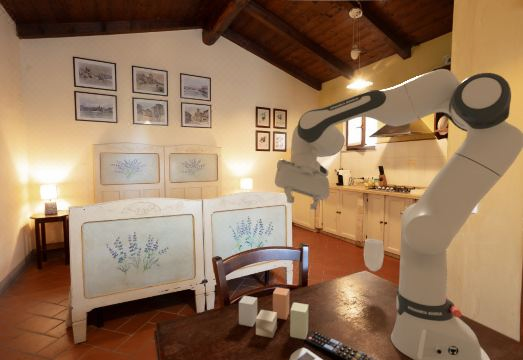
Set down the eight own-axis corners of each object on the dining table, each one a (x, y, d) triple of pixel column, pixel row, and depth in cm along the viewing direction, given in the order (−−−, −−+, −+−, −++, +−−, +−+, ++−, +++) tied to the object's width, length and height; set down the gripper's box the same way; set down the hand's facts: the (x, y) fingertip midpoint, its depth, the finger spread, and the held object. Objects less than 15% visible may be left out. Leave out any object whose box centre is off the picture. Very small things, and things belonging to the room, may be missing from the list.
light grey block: (257, 318, 88) (257, 297, 87) (252, 326, 83) (252, 304, 83) (244, 316, 89) (244, 295, 89) (238, 324, 85) (238, 302, 84)
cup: (384, 293, 105) (386, 240, 104) (379, 300, 100) (381, 244, 98) (365, 287, 110) (367, 237, 108) (359, 294, 104) (361, 241, 103)
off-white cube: (276, 328, 83) (276, 312, 83) (272, 338, 78) (272, 321, 78) (261, 325, 84) (261, 309, 84) (255, 334, 80) (255, 318, 79)
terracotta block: (289, 312, 92) (289, 289, 91) (286, 319, 87) (286, 295, 87) (276, 310, 93) (276, 287, 93) (272, 317, 89) (272, 293, 88)
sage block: (308, 330, 82) (308, 304, 81) (305, 339, 77) (306, 312, 77) (293, 327, 83) (293, 302, 83) (290, 336, 79) (290, 309, 78)
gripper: (283, 154, 85) (281, 195, 79) (332, 172, 94) (332, 210, 88) (272, 161, 90) (269, 200, 84) (319, 178, 99) (319, 214, 94)
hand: (302, 206), depth 87 cm, fingers open, 8 cm apart
